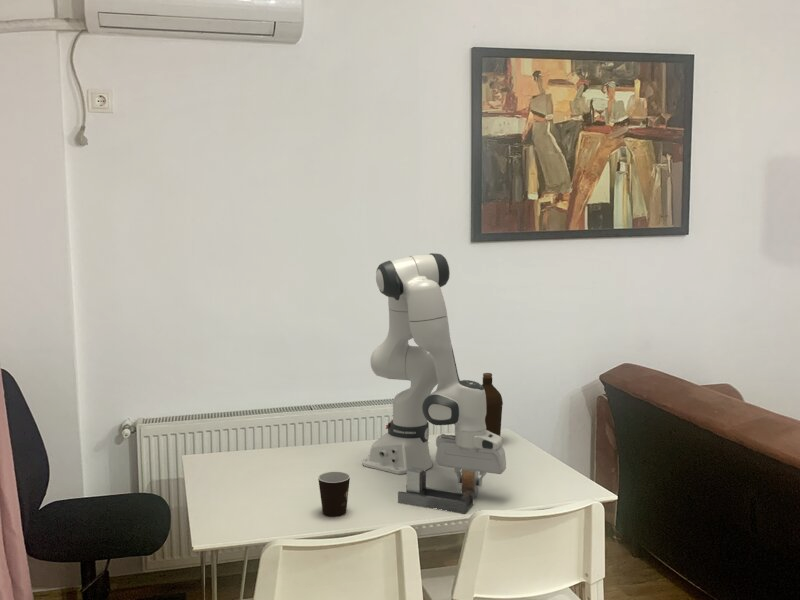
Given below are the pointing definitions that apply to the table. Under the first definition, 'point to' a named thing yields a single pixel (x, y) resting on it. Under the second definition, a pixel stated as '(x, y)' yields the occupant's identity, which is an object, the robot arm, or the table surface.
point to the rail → (432, 494)
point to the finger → (469, 481)
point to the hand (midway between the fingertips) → (470, 484)
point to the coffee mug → (334, 493)
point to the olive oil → (492, 405)
